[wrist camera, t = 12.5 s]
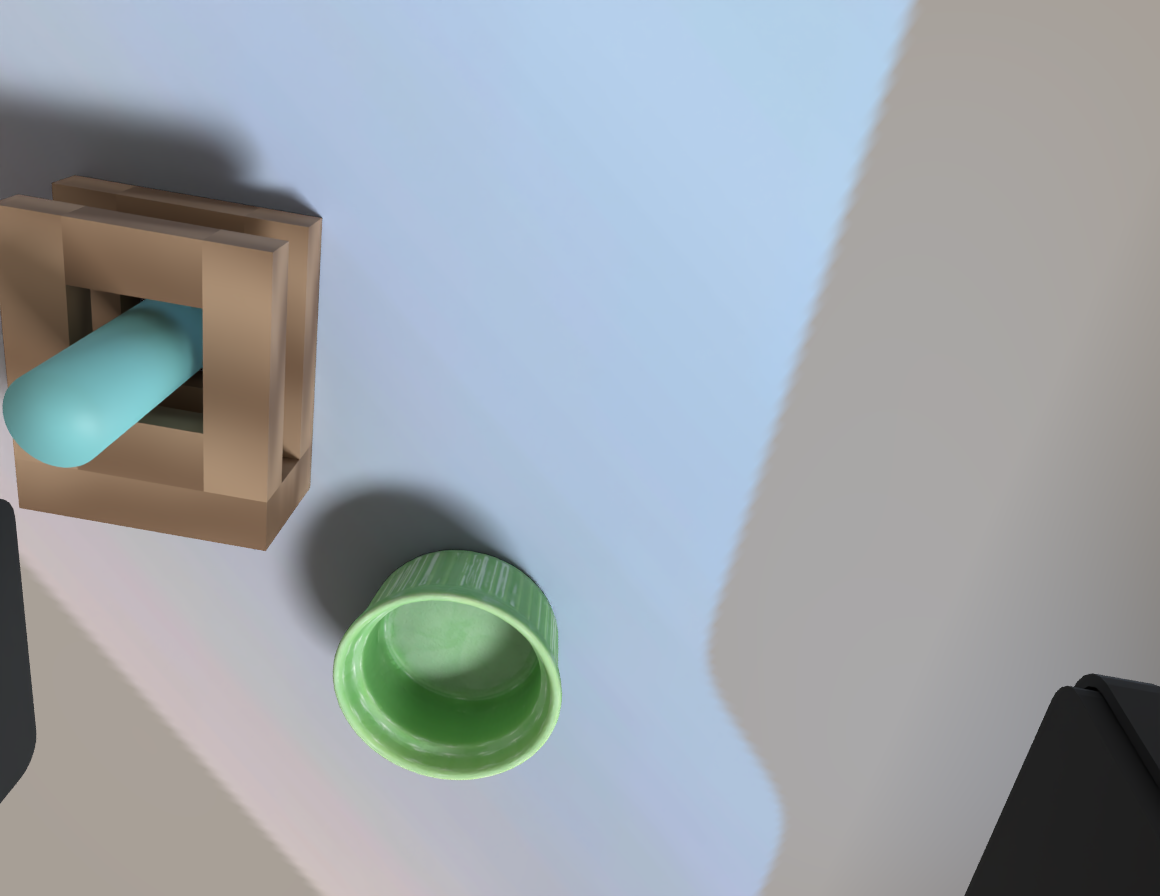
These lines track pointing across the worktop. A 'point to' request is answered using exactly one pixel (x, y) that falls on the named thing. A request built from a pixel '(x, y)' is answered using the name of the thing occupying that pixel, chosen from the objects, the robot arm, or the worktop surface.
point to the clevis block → (230, 352)
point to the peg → (104, 383)
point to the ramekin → (452, 667)
